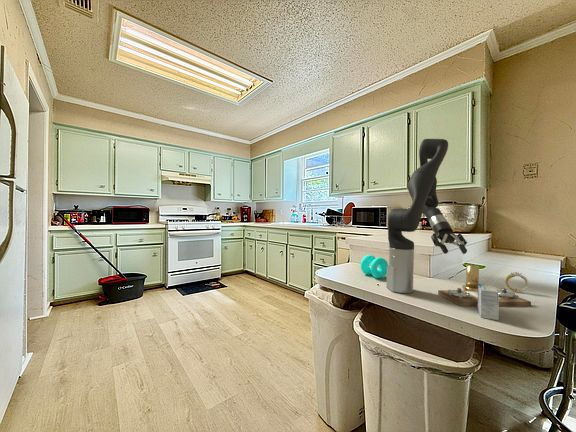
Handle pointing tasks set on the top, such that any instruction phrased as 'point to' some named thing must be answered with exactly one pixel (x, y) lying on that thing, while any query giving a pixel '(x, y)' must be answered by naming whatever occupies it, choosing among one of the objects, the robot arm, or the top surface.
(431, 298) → the top surface
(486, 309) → the medicine box
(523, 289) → the bracelet
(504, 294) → the steel gears
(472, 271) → the gold metal cylinder
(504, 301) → the gear board
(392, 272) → the robot arm
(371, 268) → the donuts
